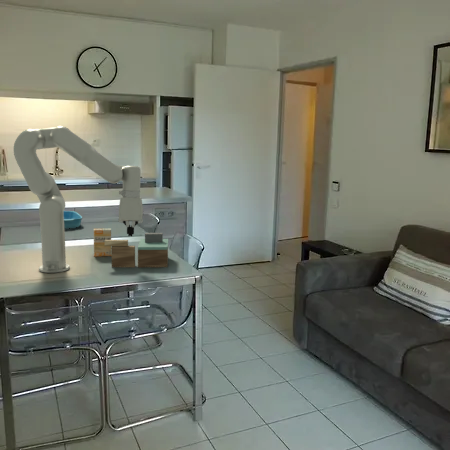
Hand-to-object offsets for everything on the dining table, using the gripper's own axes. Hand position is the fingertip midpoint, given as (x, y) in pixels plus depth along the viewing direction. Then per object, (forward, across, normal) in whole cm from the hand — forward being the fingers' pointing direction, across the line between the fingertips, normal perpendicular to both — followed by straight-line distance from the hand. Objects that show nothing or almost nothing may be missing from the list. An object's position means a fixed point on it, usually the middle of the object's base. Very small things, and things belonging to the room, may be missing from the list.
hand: (130, 235), depth 215 cm
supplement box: (+15, -15, +21) cm, 30 cm away
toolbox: (+14, +5, +7) cm, 16 cm away
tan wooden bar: (+5, -6, 0) cm, 8 cm away
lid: (+6, +10, +7) cm, 14 cm away
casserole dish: (+16, -52, +104) cm, 117 cm away
